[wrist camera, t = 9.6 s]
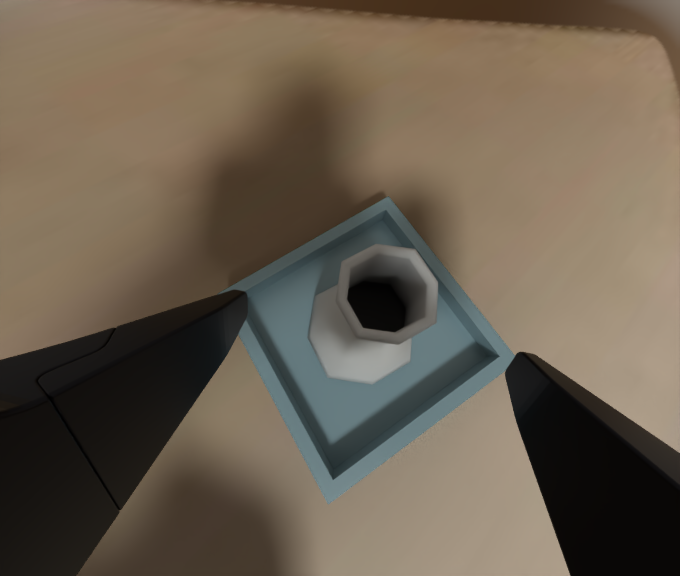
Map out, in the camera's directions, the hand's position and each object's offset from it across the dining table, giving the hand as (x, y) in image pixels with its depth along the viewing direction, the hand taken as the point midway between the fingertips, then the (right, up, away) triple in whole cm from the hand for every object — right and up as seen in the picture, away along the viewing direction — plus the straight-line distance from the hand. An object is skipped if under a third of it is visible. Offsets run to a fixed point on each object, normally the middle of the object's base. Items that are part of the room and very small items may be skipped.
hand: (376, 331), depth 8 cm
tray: (0, -1, +9) cm, 9 cm away
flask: (0, -1, +9) cm, 9 cm away
